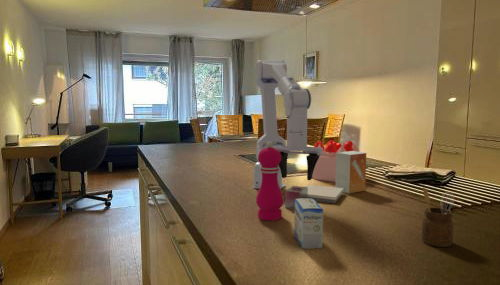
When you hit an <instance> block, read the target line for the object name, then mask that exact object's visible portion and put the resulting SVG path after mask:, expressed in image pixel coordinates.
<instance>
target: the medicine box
mask: <svg viewBox="0 0 500 285" xmlns="http://www.w3.org/2000/svg"><path fill="white" fill-rule="evenodd" d="M323 227H324V209H323V208H322V207H321V205H320V204H319V203H318V201H315V200H314V199H310V198H301V199H295V209H294V230H293V231H294V233H293V234H294V236H295V239H296V240H297V242H298V243H299V245H300V247H301V249H302V250H306V249H307V250H312V249H311V248H317V249H323V239H324V238H323V237H324V236H323V233H324V232H323V231H324V230H323V229H324V228H323Z"/></svg>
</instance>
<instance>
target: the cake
mask: <svg viewBox="0 0 500 285" xmlns="http://www.w3.org/2000/svg"><path fill="white" fill-rule="evenodd" d="M325 146H326V147H324V143H322V141H321V140H320V141H316V142H315V144H314V146H313V147H318V148H323V154H322V155H320V156H319V159H318V161H317V163H316V165H315V168H314V171H313V175H312V179H315V180H318V181H323V182H331V183H332V182H335V183H336V153H340V152H348V151H357V152H360V150H359V148H358V147H357V146H356V144H355V143H354V142H353V141H352V140H348V141H346V143H345V140H343V141H342V143H340V142H335V141H334V139H330V140H328V142H327V143H326V145H325Z"/></svg>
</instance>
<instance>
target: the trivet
mask: <svg viewBox="0 0 500 285" xmlns="http://www.w3.org/2000/svg"><path fill="white" fill-rule="evenodd" d="M305 187H308V198H310V199H314V200H315V201H316V202H317V203H318V202H320V203H330V204H335V203H336V202H337V201H338V200H339V199H340V197H342V195H343V193H344V192H343V191H344V188H336V186H335V187H333V186H326V185H325V186H323V185H313V184H312V185H311V184H307V185H306V186H305Z"/></svg>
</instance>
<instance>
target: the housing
mask: <svg viewBox="0 0 500 285" xmlns="http://www.w3.org/2000/svg"><path fill="white" fill-rule="evenodd" d="M301 198H308V187H306V186H301V185H299V186H298V185H292V186H290V187H289V188H288V189H286V190H285V191H284V200H285V201H284V208H285V209H292V210H293V209H294V210H295V199H301Z"/></svg>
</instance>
